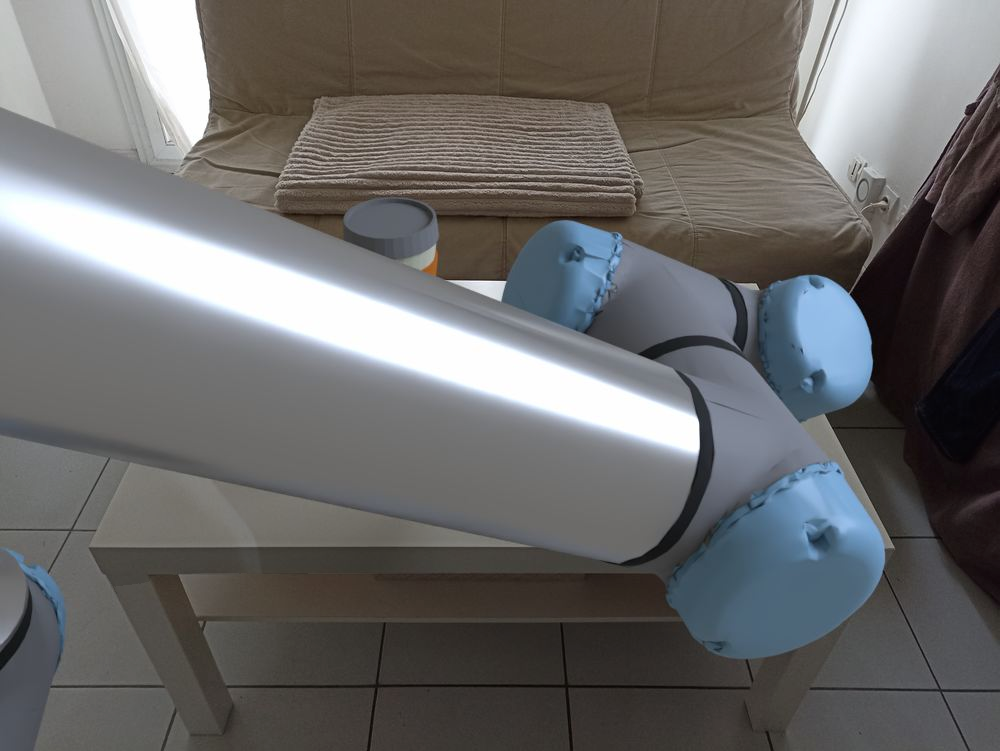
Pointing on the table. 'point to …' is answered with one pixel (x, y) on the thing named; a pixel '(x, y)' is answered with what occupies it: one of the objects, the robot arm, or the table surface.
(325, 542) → the table surface
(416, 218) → the reusable coffee cup
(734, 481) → the robot arm
